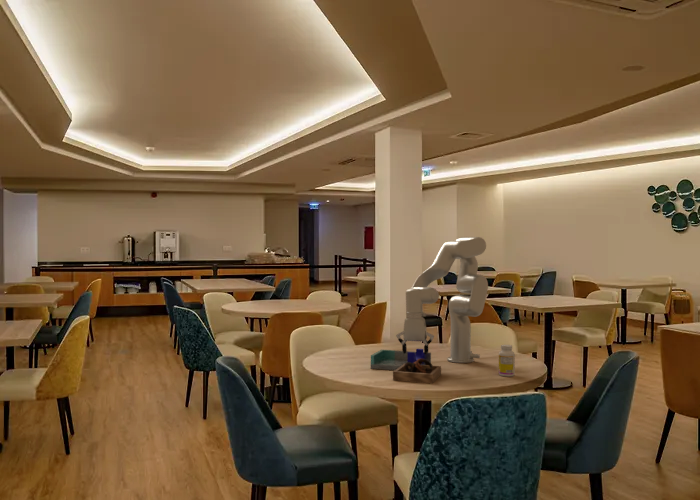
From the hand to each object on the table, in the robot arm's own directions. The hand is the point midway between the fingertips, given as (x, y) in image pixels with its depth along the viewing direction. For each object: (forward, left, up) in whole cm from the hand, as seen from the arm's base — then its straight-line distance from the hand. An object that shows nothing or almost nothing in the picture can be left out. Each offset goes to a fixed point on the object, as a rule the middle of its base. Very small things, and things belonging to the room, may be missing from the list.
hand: (415, 353), depth 277 cm
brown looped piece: (-5, +16, -7) cm, 18 cm away
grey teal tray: (+7, 0, -7) cm, 9 cm away
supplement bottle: (-40, +2, -7) cm, 41 cm away
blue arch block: (0, +1, -5) cm, 5 cm away
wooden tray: (-5, +19, -7) cm, 21 cm away
